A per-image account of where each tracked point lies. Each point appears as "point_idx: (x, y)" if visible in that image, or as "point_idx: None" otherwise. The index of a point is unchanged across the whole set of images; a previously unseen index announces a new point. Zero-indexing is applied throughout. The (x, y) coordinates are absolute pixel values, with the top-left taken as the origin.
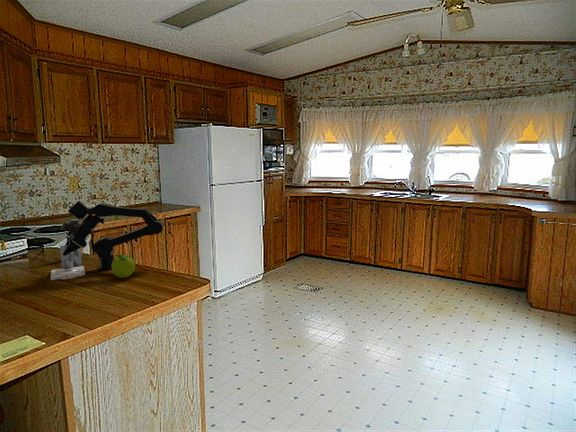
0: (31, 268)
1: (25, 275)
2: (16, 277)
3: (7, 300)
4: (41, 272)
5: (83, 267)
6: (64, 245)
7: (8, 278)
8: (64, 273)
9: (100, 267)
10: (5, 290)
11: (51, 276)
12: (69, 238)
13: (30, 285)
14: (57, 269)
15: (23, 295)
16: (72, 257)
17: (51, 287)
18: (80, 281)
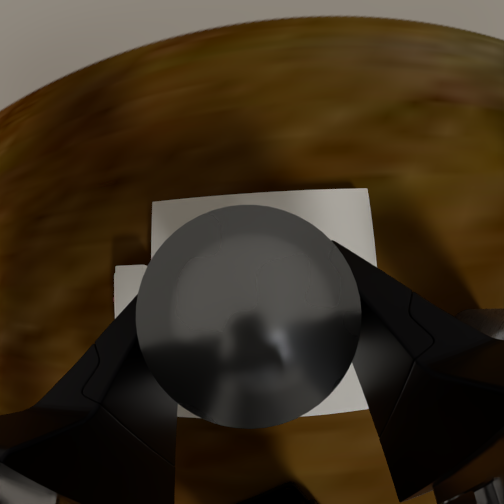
0: (486, 104)
1: (359, 73)
2: (334, 45)
3: (4, 113)
4: (397, 138)
5: (330, 411)
6: (330, 294)
7: (329, 24)
8: (124, 288)
9: (295, 500)
10: (116, 56)
11: (175, 203)
12: (475, 441)
13: (121, 123)
14: (371, 226)
15: (11, 143)
16: (489, 328)
17: (32, 229)
18: (56, 367)
